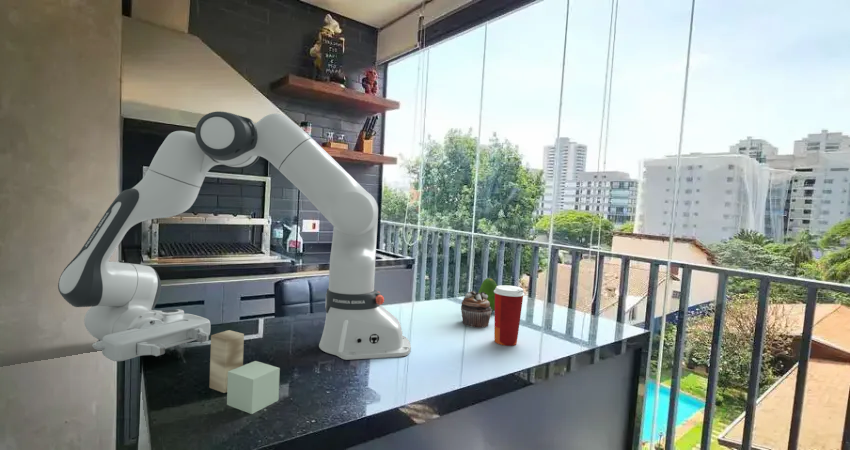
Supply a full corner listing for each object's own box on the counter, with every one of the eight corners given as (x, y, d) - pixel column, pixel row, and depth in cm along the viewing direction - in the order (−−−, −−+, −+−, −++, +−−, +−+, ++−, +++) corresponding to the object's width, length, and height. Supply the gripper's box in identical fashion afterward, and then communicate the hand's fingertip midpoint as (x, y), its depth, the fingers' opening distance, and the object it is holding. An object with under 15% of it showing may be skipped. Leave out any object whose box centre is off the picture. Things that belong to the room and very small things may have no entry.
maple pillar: (227, 380, 85) (229, 329, 85) (242, 385, 84) (244, 333, 83) (209, 387, 82) (211, 335, 81) (224, 392, 80) (226, 339, 79)
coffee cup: (526, 343, 119) (530, 288, 118) (510, 349, 113) (514, 292, 112) (500, 335, 125) (504, 283, 124) (483, 341, 119) (487, 286, 118)
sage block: (254, 392, 81) (255, 360, 81) (278, 400, 78) (279, 368, 78) (226, 405, 76) (227, 371, 75) (251, 414, 73) (253, 379, 73)
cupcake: (456, 325, 133) (458, 292, 132) (464, 317, 142) (466, 287, 141) (487, 330, 129) (489, 297, 129) (493, 322, 138) (496, 291, 138)
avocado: (475, 314, 147) (478, 278, 146) (476, 308, 155) (479, 275, 154) (499, 316, 146) (502, 281, 145) (499, 310, 154) (502, 277, 153)
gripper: (87, 328, 84) (130, 342, 78) (186, 307, 102) (227, 317, 96) (87, 360, 85) (129, 377, 78) (185, 334, 103) (226, 346, 97)
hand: (184, 344), depth 88 cm, fingers open, 8 cm apart
